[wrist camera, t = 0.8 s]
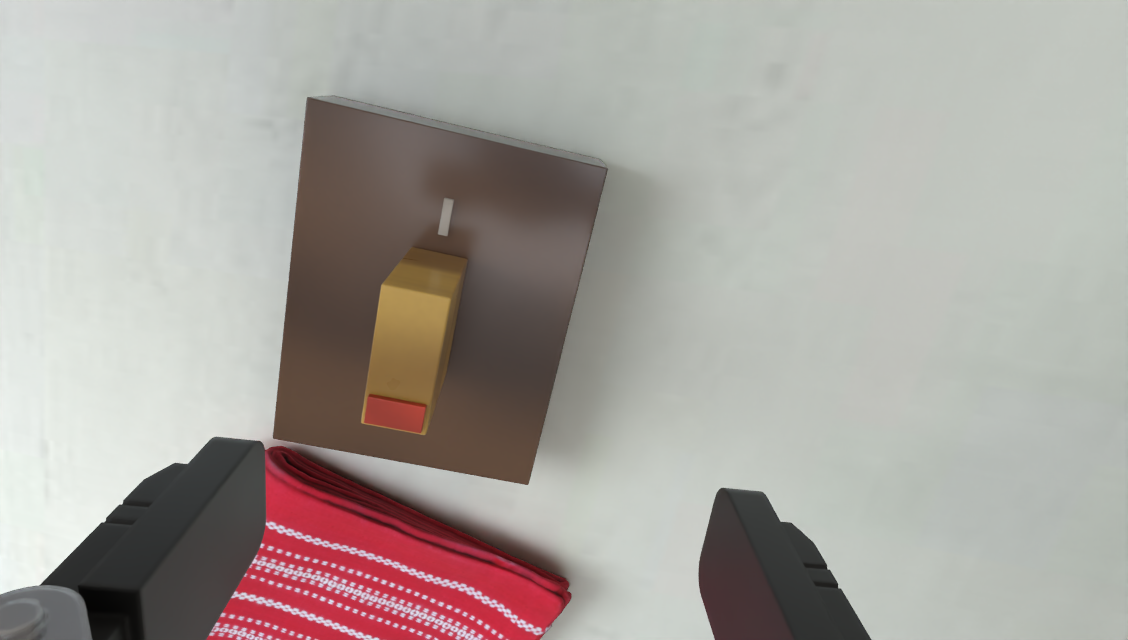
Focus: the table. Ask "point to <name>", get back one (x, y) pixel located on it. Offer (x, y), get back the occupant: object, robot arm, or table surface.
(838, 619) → the robot arm
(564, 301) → the lock plate
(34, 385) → the table surface
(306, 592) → the dish towel
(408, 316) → the yellow milk carton
